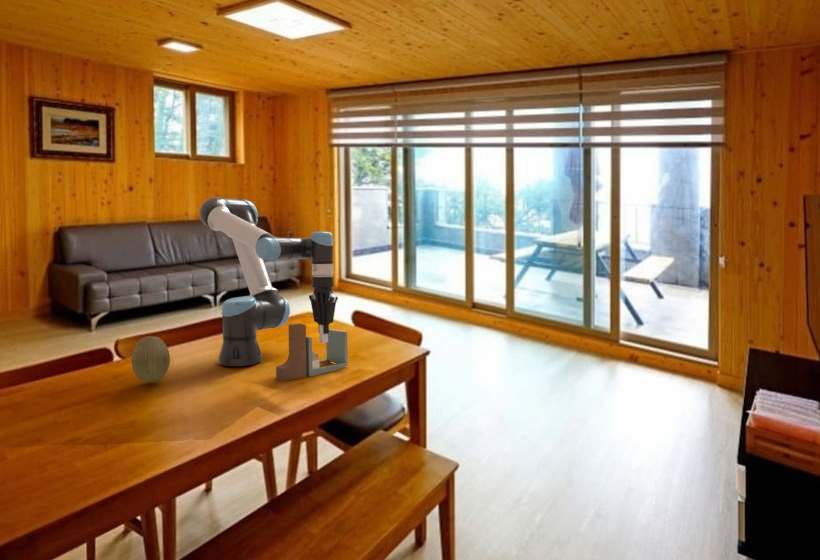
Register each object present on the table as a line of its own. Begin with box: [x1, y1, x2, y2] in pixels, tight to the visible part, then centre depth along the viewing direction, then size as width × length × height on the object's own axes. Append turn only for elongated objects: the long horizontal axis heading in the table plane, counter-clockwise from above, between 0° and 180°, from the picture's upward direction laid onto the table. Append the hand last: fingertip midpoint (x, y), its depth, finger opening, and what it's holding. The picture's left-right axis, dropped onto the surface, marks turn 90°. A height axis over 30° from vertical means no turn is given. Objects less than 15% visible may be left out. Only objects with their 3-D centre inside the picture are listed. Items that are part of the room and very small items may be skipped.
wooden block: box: [275, 323, 307, 382], centre depth 182 cm, size 9×4×18 cm, turn 126°
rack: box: [306, 328, 349, 378], centre depth 193 cm, size 10×17×13 cm, turn 139°
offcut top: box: [312, 351, 319, 361], centre depth 190 cm, size 6×3×2 cm, turn 47°
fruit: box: [131, 335, 171, 383], centre depth 178 cm, size 11×11×15 cm
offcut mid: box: [312, 359, 320, 368], centre depth 190 cm, size 7×3×2 cm, turn 48°
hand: (323, 342), depth 194 cm, fingers closed
